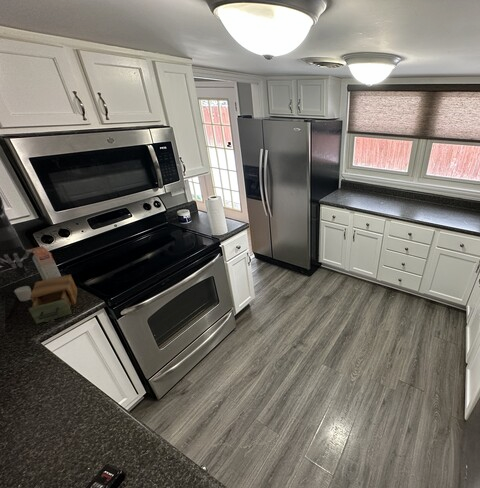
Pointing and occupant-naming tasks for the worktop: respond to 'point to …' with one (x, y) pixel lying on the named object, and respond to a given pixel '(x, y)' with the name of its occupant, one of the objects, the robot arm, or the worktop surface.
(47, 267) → the cracker box
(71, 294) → the cabinet
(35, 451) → the worktop surface
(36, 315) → the drawer
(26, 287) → the grey cylinder
